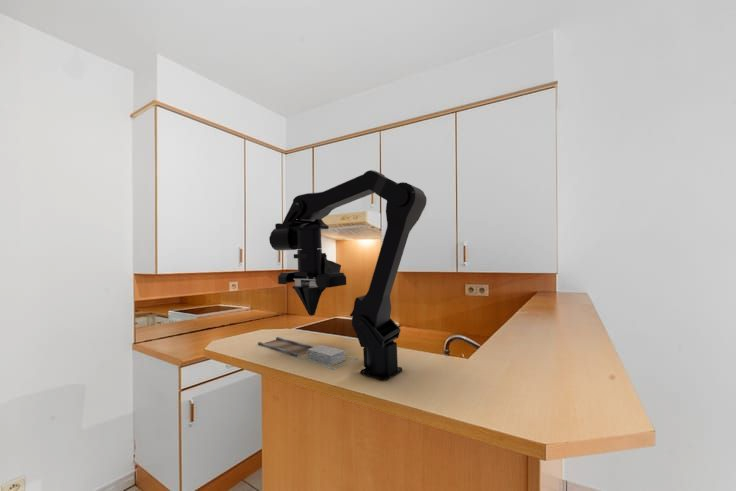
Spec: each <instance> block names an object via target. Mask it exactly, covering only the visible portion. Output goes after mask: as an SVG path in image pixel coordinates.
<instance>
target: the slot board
mask: <svg viewBox="0 0 736 491" xmlns="http://www.w3.org/2000/svg"><path fill="white" fill-rule="evenodd" d="M257 345H258V346H259V347H264V348H267V349H270V350H271V351H272V350H273V351H275V352H278V353H282V354H284V355H288V356H291V357H294V358H296V357H299V356H302V355H304V354H308V351H307V349H310V348H313V347H315V346H312V345H310V344H305V343H302V342H298V341H294V340H290V339H287V338H283V337H279V336H278V337H275V339H273V340H269V341H266V342H261V341H258V342H257Z"/></svg>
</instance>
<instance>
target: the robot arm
mask: <svg viewBox="0 0 736 491" xmlns="http://www.w3.org/2000/svg"><path fill="white" fill-rule="evenodd" d="M372 194H376V195H377V196H378V197H380V198H382V199H383V200H385V201H386V203H385V205H386V206H385V215H386V216H385V217H386V230H385V233H384V236H383V239H382V243H381V246H380V251H379V253H378V257H377V260H376V263H375V267H374V270H373V274H372V276H371V280H370V285H369V287H368V291H367V293H366V294H365V295H361V296H357V297H356V298H355V300H354V304H353V309H352V311H351V313H350V314H349V317H351V327H352V328H353V331H354V332H355V334H356V337H357V340H358V343H359V346H360V347H361V348H363V349H362V350H363V367H364V368H362V369H361V370H360V372H359V373H360V374H361V375H365V376H368V377H370V378H375V379H377V380H381V381H387V380H388V379H390V378H392V377H393V376H395V375H397V374H399V373H400V372H402V371H403V367H401V366H398V363H399V362H398V343H397V342H396V341H395V340H397V339H398V338H399V337H400V333H401V328H400V327H399V325H397V323H396V322H395V321H394V320H393V319H392V318H391V314H392V303H391V295H392V294H391V293H392V290H393V287H394V283H395V280H396V278H397V273H398V271H399V268H400V263H401V262H402V257H403V254H404V251H405V249H406V248H405V247H406V244H407V241H408V238H409V235H410V233H411V231H412V229H413V228H414V227H415V226H416V224H417V222H418V221H420V218H421V216H422V214H423V212H424V210H425V208H426V206H427V201H428V200H427V196H426V194H425V192H424V190H422V189H421V188H418V187H417V186H415V185H413V184H410V183H408V182H396V181H394V180H392V179H390V178H388V177H387V176H385V175H384V174H383V173H381V172H379V171H376V170H373V169H370V170H367V171H365V172H364V173H363V174H361V175H359V176H356V177H354V178H352V179H349V180H346V181H344V182H342V183H340V184H337V185H335V186H333V187H330V188H329V189H326V190H324V191H319V192H309V193H304V194H299V195H296V196H295V197H294V198H293V200H292V203H291V206H290V207H289V209H288V212H287V213H286V215H285V217H284V220H283V222H282V223H280V222H279V223H275V225H274V226H275V228H274V229H273V230H272V231H271V233H270V235H269V238H268V239H269V240H268V241H269V244H270V246H271V248H272V249H273V250H275V251H295V250H296V253H294V254H293V259H297V270H294V271H293V270H292V271H284V272H283V271H282V272H280V274H279V275H278V276H277V279H278V280H277V283H278V285H287V284H289V283H291V284H292V283H294V285H293V286H292V287H291V288H292V289H293V290H294V291H295V293H296V295H297V296H298V298H299V299H300V301H301V303H302V305H303V306H304V309H305V310H306V312H307V315H309V316H315V315H316V311H317V308H318V306H319V305H318V304H319V301H320V299H321V296H322V293H323V292H324V291H325V290H326V289H328V288H335V287H341V286H347V276H346V274H345V273H344V272H341V270H342V269H341V268H342V265H341V264H340V263H337V262H335V261H333V260H329V259H327V258H328V257H327V256H328V255H327V254H326V252H323V250H322V246H323V245H322V231H323V230H329V227H330V226H329V225H328V224H326V222H324V221H323V219H325V217H328V215H329V214H330V213H331V212H332V211H333V210H335V209H337V208H339V207H342V206H344V205H347V204H350V203H352V202H355V201H357V200H360V199H362V198H365V197H367V196H370V195H372Z"/></svg>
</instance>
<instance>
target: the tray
mask: <svg viewBox="0 0 736 491" xmlns="http://www.w3.org/2000/svg"><path fill="white" fill-rule="evenodd" d="M345 357H348V358H352V360H350V361H348V362H345V363H343V364H341V365H338V366H337V367H334V368H332V367H331V366H330V367H329V366H328V365H323V364H321V363H318V362H315V361H312V360H309V359H308V360H307V359H305V358H301V357H299V356H297V357H295V359H299V360H302V361H305V362H308V363H311V364H315V365H318V366H321V367H324V368H328V369H330V370H336V369H338V368H340V367H343V366H346V365H348V364H350V363H352V362H354V361H356V360H358V359H359V358H358V357H354V356H350V355H346V354H345Z"/></svg>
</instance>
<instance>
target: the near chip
mask: <svg viewBox="0 0 736 491" xmlns="http://www.w3.org/2000/svg"><path fill="white" fill-rule="evenodd" d="M345 355H346V352H345V350H344V349H343V350H342V349H339V348H335V347H331V348H330V349H327V350H325V351H322V352H319V362H318V363H319V364H322V365H323V364H325V365H326V366H330V367H333V366H335V365H337V364H340V363H343V362H344V361H346V356H345Z"/></svg>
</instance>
